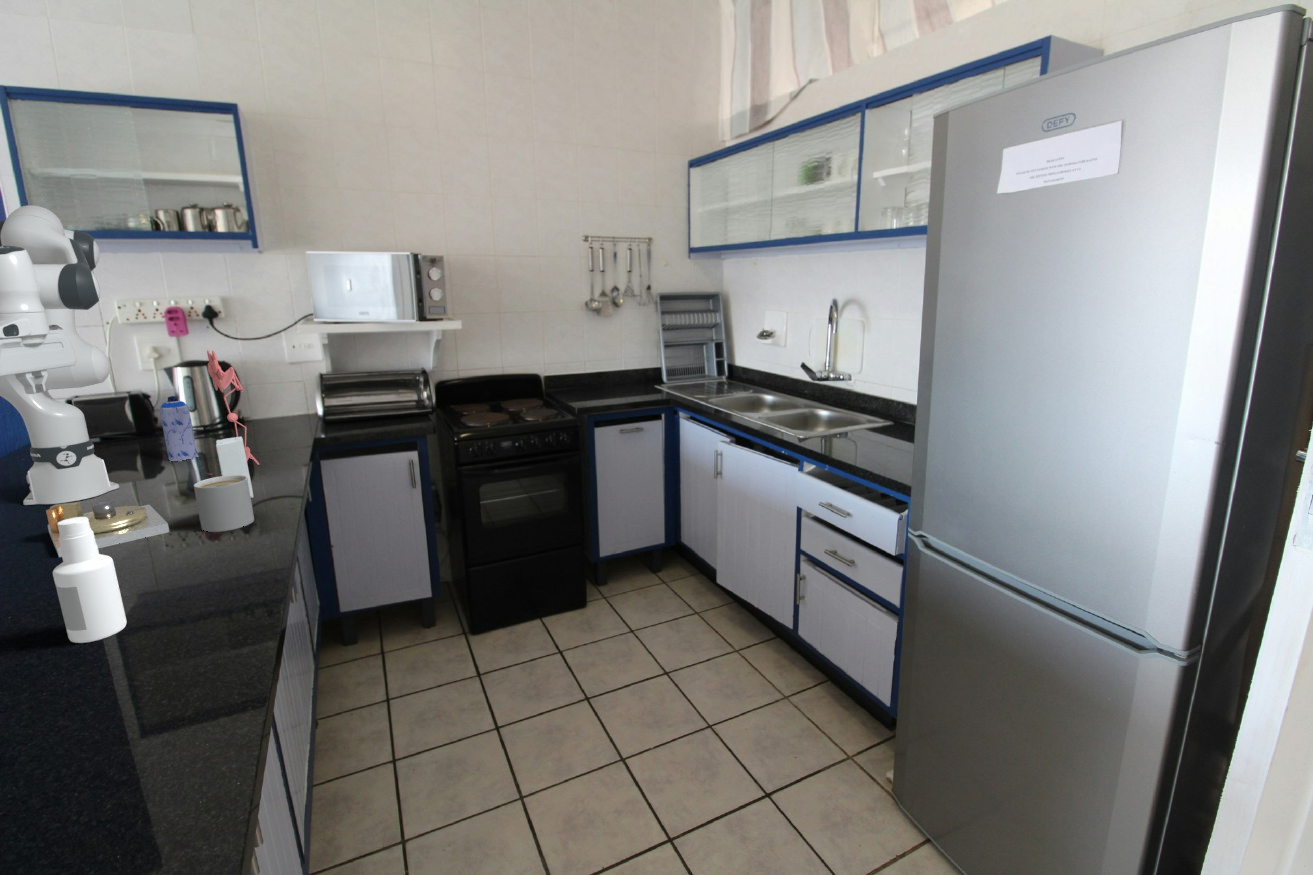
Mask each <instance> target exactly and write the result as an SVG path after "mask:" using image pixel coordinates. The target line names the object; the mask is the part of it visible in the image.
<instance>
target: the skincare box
mask: <svg viewBox="0 0 1313 875" xmlns="http://www.w3.org/2000/svg"><path fill="white" fill-rule="evenodd" d="M215 441H216V442H215V443H216V444H215V447H216V448H215V450H216V453H217V456H218V457H217V459H218V463H219V464H218V465H219V469H220V475H221V476H228V475H243V476H246V477H247V479H248V485H249V491H250V497H251V499H252V498H254V492H253V486H252V485H253V484H252V481H251V476H250V471H249V466H248V461H247V459H246V454H245V449H244V448H245V442H244V439H243V437H242V436H238V437H237V436H236V437H235V436H234V437H228V438H222V439H221V438H220V439H216V440H215Z"/></svg>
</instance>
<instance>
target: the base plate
mask: <svg viewBox="0 0 1313 875" xmlns="http://www.w3.org/2000/svg"><path fill="white" fill-rule="evenodd" d="M140 506H141V507H145V508H146V511H147V518H146V519H144V520H143V521H141V522H138V523H136V524H133V525H130V526H127V527H124V528H120V529H116V530H112V531H107V532H101V533H94V537H95V541H96V544H97V547H98V549H102V548H106V547H111V546H115V545H119V543H120V544H124V543H128V542H132V541H135V540H141V539H146V538H150V537H155V536H157V535H158V536H159V535H163V534H167V533H170V528H169V523H168V521H166V520H165V519H164V518H163V517H162V515H160V514H159V513H158V512H157V511H156V510H155V508H153V507H152V506H151V504H145V505H140ZM45 512H46V513H45V514H46V516H47V517H46V518H47V520H48V524H47V529H48V533H49V536H50V539H51V541H52V543H53V546H54V548H55V551H56V553H57V555H58V558H62V554H61V547H60V543H59V534H60V533H59V529H58V525H57V523H58V522H59V518H58V514H57V510H56V509H55V508H54V509H50V508H49V509H46V510H45ZM145 537H146V538H145Z"/></svg>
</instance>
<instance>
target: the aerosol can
mask: <svg viewBox="0 0 1313 875" xmlns="http://www.w3.org/2000/svg"><path fill="white" fill-rule="evenodd" d="M159 415H160V420H161V426H162V431H163V437H164V441H165V445H166V446H165V447H166V451H167V457H168V459H169V460H170V461H169V462H171V461H178V462H183V461H182V460H186V459H192V460H194V459H193V458H195V457H198V458H199V454H198V450H197V446H196V445H197V444H196V439H195V433H194V428H193V424H192V419H191V412H190V407H189V405H188V404H187V403H186V402H185V401H182V400H180V399H178V397H177V396H176V395H171V396H167V401H165V402H164V403H162V404H161V406H159ZM195 459H196V458H195Z"/></svg>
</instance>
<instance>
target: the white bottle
mask: <svg viewBox="0 0 1313 875" xmlns="http://www.w3.org/2000/svg"><path fill="white" fill-rule="evenodd" d="M57 525H58V529H59V533H60V534H59V543H60V547H61V554H62V557H61V558H62V562H61V563H60V564H58V565H56V567H55V568H54V569H53V571H52V577H53V581H54V584H55V588H56V592H57V597H58V601H59V605H60V609H61V613H62V616H63V622H64V624H65V628H66V629H65V630H66V633H67V637H68V639H69V641H70V642H71V643H75V644H77V643H78V644H84V643H91V642H95V641H100V640H103V639H106V638H110V637H111V636H113V635H116V634H118V633H119V632H121V631H122V630H123V629H125V627H126V625H127V623H128V622H127V617H126V612H125V608H124V604H123V598H122V595H121V589H120V587H119V586H120V585H119V581H118V576H117V571H116V568H115V564H114V560H113V558H112V557H111V556H110V555H106V554H103V553H102V554H101V553H100V552H99V551H100V550H99V548H98V547H97V544H96V541H95V537H94V533H93V531H92V530H91V528H90V524H89V520H88V518H87V517H75V518H70V519H66V520H63V521H60V522H58V523H57Z"/></svg>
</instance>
